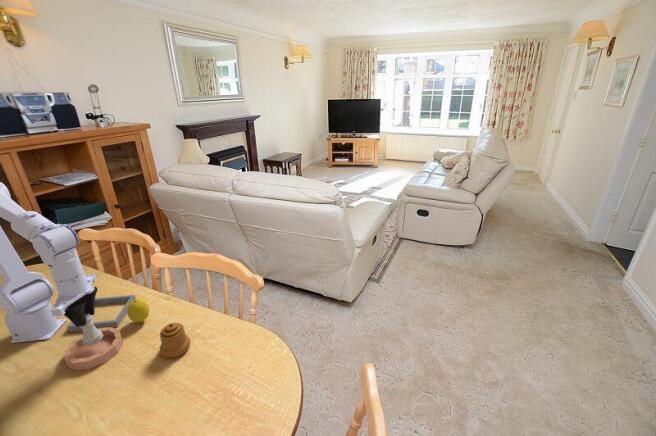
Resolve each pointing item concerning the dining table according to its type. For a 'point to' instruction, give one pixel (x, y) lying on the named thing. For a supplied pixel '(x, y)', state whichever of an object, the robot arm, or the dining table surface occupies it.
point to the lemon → (138, 310)
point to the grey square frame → (110, 323)
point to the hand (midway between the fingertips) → (85, 320)
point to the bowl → (93, 350)
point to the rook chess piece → (90, 332)
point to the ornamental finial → (173, 340)
